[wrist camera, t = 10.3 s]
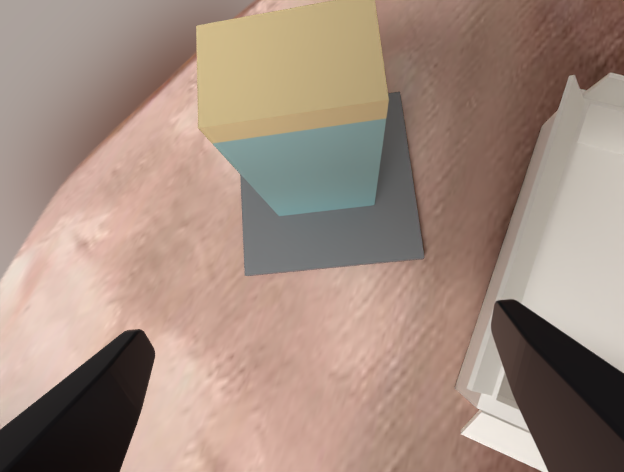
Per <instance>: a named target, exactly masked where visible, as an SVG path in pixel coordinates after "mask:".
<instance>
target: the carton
mask: <svg viewBox="0 0 624 472" xmlns="http://www.w3.org/2000/svg"><path fill="white" fill-rule="evenodd" d="M506 299H514V300H517V301H518V302H520V303H521V304H523V305H524V306H526V307H527V308H529V309H530V310H532V311H533V312H535V313H536V314H537V315H539V316H540V317H542V318H543V319H545V320H546V321H548V322H549V323H551V324H552V325H554V326H555V327H557V328H558V329H560V330H561V331H562V332H564V333H565V334H567V335H568V336H570V337H571V338H573V339H574V340H576V341H577V342H579V343H580V344H582V345H583V346H585V347H586V348H587V349H589V350H590V351H592V352H593V353H595V354H596V355H598V356H599V357H601V358H602V359H604V360H605V361H607V362H608V363H610V364H611V365H612V366H614V367H615V368H617V369H618V370H620V371H621V372H623V373H624V76H623V75H619V74H614V73H609V74H607V75H606V76H605V77H604V78H602V79H601V80H600V81H598V82H597V83H596V84H594V85H593V86H592V87H590V88H589V89H588V90H583V89H580V88H579V85H578V82H577V79H576V77H575V75H570V76H569V78H568V81H567V84H566V87H565V90H564V93H563V96H562V99H561V102H560V105H559V108H558V110H557V111H556V112H555V113H554V114H553V115H552V116H551V117H550V118H549V119H548V120H547V121H546V122H545V123H544V124H543V125H542V127H541V130H540V133H539V136H538V139H537V142H536V145H535V148H534V151H533V154H532V157H531V160H530V163H529V166H528V169H527V172H526V175H525V178H524V181H523V184H522V187H521V190H520V193H519V196H518V199H517V202H516V205H515V208H514V211H513V214H512V217H511V220H510V223H509V226H508V229H507V232H506V235H505V238H504V241H503V244H502V247H501V250H500V253H499V256H498V259H497V262H496V265H495V268H494V271H493V274H492V277H491V280H490V283H489V286H488V289H487V292H486V295H485V298H484V301H483V304H482V307H481V310H480V313H479V316H478V319H477V322H476V326H475V329H474V332H473V335H472V338H471V341H470V344H469V347H468V350H467V353H466V356H465V359H464V362H463V365H462V368H461V371H460V374H459V377H458V380H457V383H456V386H455V389H456V390H457V391H458V392H459V393H460V394H462V395H463V396H464V397H465V398H466V399H467V400H468V401H469V402H471V403H472V404H473V405H474V406H475V407H476V408H478V409H480V410H479V411H478V412H477V413H476V414H475V415H474V416H473V418H472V419H471V420H470V421H469V422H468V423H467V424H466V425H465V426H464V427H463V428H462V429H461V435H464V436H466V437H468V438H470V439H472V440H475V441H477V442H479V443H481V444H483V445H485V446H488V447H490V448H492V449H494V450H496V451H499V452H501V453H503V454H505V455H507V456H510V457H512V458H514V459H516V460H518V461H520V462H523V463H525V464H527V465H529V466H531V467H534V468H536V469H538V470H540V471H542V472H548V470H547V468H546V466H545V463H544V461H543V459H542V457H541V455H540V453H539V451H538V448H537V446H536V444H535V442H534V440H533V438H532V436H531V433H530V431H529V429H528V427H527V425H526V423H525V421H524V418H523V416H522V414H521V412H520V410H519V408H518V406H517V403H516V401H515V399H514V396H513V394H512V391H511V388H510V386H509V383H508V380H507V377H506V374H505V371H504V368H503V365H502V362H501V359H500V356H499V353H498V350H497V347H496V344H495V341H494V338H493V335H492V332H491V320H492V314H493V309H494V304H495V302H496V301H498V300H506Z"/></svg>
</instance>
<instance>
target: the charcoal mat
mask: <svg viewBox="0 0 624 472" xmlns="http://www.w3.org/2000/svg"><path fill="white" fill-rule="evenodd" d="M388 97H389V102H388V109H387V117H386V124H385V131H384V139H383V146H382V153H381V161H380V168H379V175H378V183H377V190H376V197H375V205H371V206H363V207H354V208H346V209H337V210H328V211H320V212H311V213H303V214H294V215H285V216H278V214H277V213H276V212H275V211H274V210H273V209H272V208H271V207H270V206H269V205H268V204H267V203H266V201H265V200H264V199H263V198H262V197H261V196H260V195H259V194H258V193H257V192H256V191H255V189H254V188H253V187H252V186H251V185H250V184H249V183H248V182H247V181H246V180H245V179H244V178H243V176H242V175H241V174H240V176H241V199H242V222H243V245H244V268H245V276H253V275H263V274H273V273H283V272H294V271H304V270H314V269H325V268H335V267H345V266H356V265H366V264H376V263H386V262H397V261H407V260H417V259H424V251H423V245H422V238H421V231H420V224H419V218H418V211H417V204H416V197H415V191H414V184H413V177H412V170H411V164H410V157H409V150H408V143H407V137H406V130H405V123H404V117H403V110H402V103H401V96H400V92H395V93H389V94H388Z"/></svg>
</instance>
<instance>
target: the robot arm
mask: <svg viewBox="0 0 624 472" xmlns="http://www.w3.org/2000/svg"><path fill="white" fill-rule="evenodd" d="M491 332H492V335H493V338H494V341H495V344H496V347H497V350H498V353H499V356H500V359H501V362H502V365H503V368H504V371H505V374H506V377H507V380H508V383H509V386H510V388H511V391H512V394H513V396H514V399H515V401H516V403H517V406H518V408H519V410H520V412H521V414H522V416H523V418H524V421H525V423H526V425H527V427H528V429H529V431H530V433H531V436H532V438H533V440H534V442H535V444H536V446H537V448H538V451H539V453H540V455H541V457H542V459H543V461H544V463H545V466H546V468H547V470H548V472H624V373H623V372H621V371H620V370H618V369H617V368H615V367H614V366H612V365H611V364H610V363H608V362H607V361H605V360H604V359H602V358H601V357H599V356H598V355H596V354H595V353H593V352H592V351H590V350H589V349H587V348H586V347H585V346H583V345H582V344H580V343H579V342H577V341H576V340H574V339H573V338H571V337H570V336H568V335H567V334H565V333H564V332H562V331H561V330H560V329H558V328H557V327H555V326H554V325H552V324H551V323H549V322H548V321H546V320H545V319H543V318H542V317H540V316H539V315H537V314H536V313H535V312H533V311H532V310H530V309H529V308H527V307H526V306H524V305H523V304H521V303H520V302H518V301H517V300H514V299H506V300H498V301H496V302H495V304H494V309H493V314H492V320H491ZM154 359H155V350H154V348H153V346H152V344H151V343H150V341H149V339H148V337H147V336H146V334H145V332H144V331H142V330H140V329H136V330H127V331H124V332H123V333H122V334H120V335H119V336H118V337H117V338H115V339H114V340H113V341H112V342H110V343H109V344H108V345H107V346H105V347H104V348H103V349H102V350H100V351H99V352H98V353H96V354H95V355H94V356H93V357H91V358H90V359H89V360H88V361H86V362H85V363H84V364H83V365H81V366H80V367H79V368H78V369H76V370H75V371H74V372H72V373H71V374H70V375H69V376H67V377H66V378H65V379H64V380H62V381H61V382H60V383H59V384H57V385H56V386H55V387H54V388H52V389H51V390H50V391H48V392H47V393H46V394H45V395H43V396H42V397H41V398H40V399H38V400H37V401H36V402H35V403H33V404H32V405H31V406H30V407H28V408H27V409H26V410H24V411H23V412H22V413H21V414H19V415H18V416H17V417H16V418H14V419H13V420H12V421H11V422H9V423H8V424H7V425H5V426H4V427H3V428H2V429H0V472H120V469H121V467H122V464H123V461H124V458H125V455H126V453H127V450H128V447H129V444H130V442H131V439H132V436H133V433H134V431H135V428H136V425H137V422H138V419H139V416H140V413H141V410H142V406H143V402H144V398H145V395H146V391H147V387H148V383H149V379H150V375H151V371H152V367H153V363H154Z"/></svg>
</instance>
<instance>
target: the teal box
mask: <svg viewBox="0 0 624 472" xmlns="http://www.w3.org/2000/svg"><path fill="white" fill-rule="evenodd" d="M196 35H197V89H198V129H199V130H200V131H201V132H202V133H203V134H204V135H205V136H206V137H207V138H208V139H209V141H210V142H211V143H212V144H213V145H214V146H215V147H216V148H217V149H218V150H219V151H220V152H221V154H222V155H223V156H224V157H225V158H226V159H227V160H228V161H229V162H230V163H231V164H232V166H233V167H234V168H235V169H236V170H237V171H238V172H239V173H240V174H241V175H242V176H243V178H244V179H245V180H246V181H247V182H248V183H249V184H250V185H251V186H252V187H253V188H254V189H255V191H256V192H257V193H258V194H259V195H260V196H261V197H262V198H263V199H264V200H265V201H266V203H267V204H268V205H269V206H270V207H271V208H272V209H273V210H274V211H275V212H276V213H277V214H278V216H285V215H294V214H303V213H311V212H320V211H328V210H337V209H346V208H354V207H363V206H371V205H375V197H376V190H377V183H378V175H379V168H380V161H381V153H382V146H383V139H384V131H385V124H386V117H387V109H388V102H389V97H388V90H387V83H386V76H385V69H384V62H383V55H382V48H381V40H380V33H379V26H378V19H377V12H376V5H375V0H333V1H327V2H322V3H317V4H311V5H306V6H300V7H295V8H290V9H284V10H279V11H273V12H268V13H263V14H257V15H252V16H247V17H241V18H236V19H230V20H225V21H220V22H215V23H209V24H203V25H198V26H196Z"/></svg>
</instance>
